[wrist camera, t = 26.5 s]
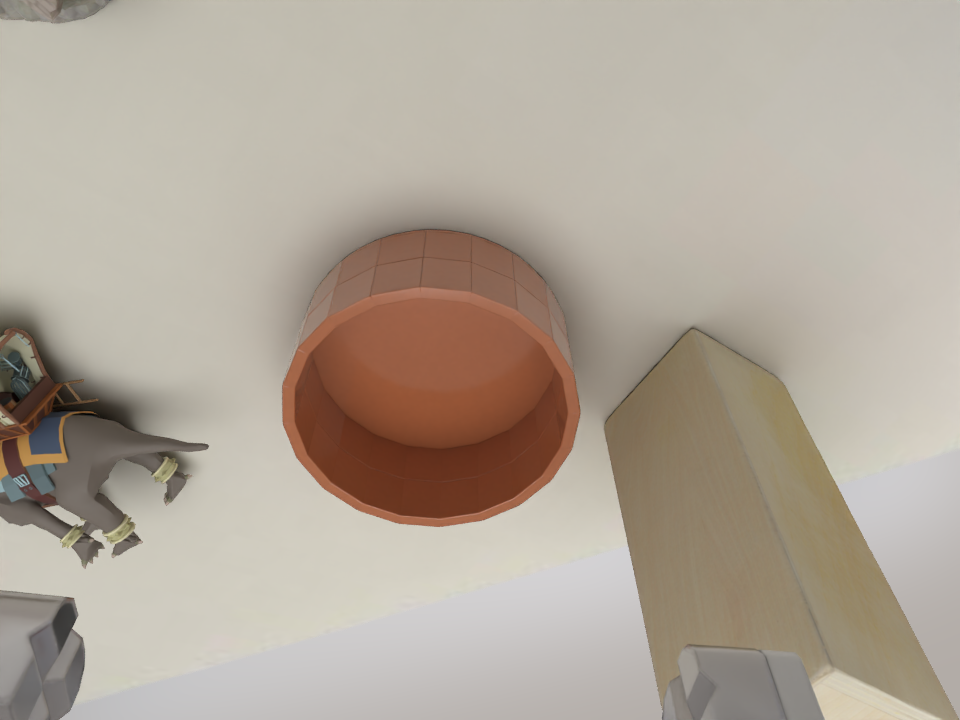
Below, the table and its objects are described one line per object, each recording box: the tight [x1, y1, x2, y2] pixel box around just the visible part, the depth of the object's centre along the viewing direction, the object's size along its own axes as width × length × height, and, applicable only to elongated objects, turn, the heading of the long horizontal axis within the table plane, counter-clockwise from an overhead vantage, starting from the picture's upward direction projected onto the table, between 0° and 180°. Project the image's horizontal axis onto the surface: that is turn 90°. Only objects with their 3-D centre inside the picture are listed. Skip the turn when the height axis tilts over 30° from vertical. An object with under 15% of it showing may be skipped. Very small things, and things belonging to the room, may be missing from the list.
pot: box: [282, 230, 580, 527], centre depth 43 cm, size 14×14×6 cm
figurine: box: [0, 328, 209, 568], centre depth 45 cm, size 20×6×17 cm
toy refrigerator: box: [604, 329, 959, 720], centre depth 39 cm, size 8×7×21 cm
